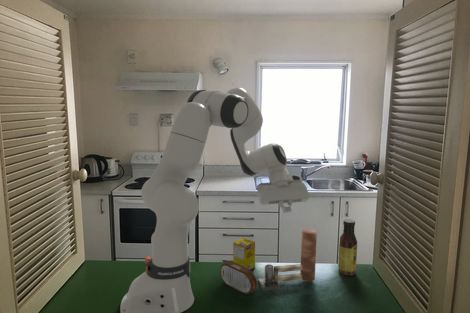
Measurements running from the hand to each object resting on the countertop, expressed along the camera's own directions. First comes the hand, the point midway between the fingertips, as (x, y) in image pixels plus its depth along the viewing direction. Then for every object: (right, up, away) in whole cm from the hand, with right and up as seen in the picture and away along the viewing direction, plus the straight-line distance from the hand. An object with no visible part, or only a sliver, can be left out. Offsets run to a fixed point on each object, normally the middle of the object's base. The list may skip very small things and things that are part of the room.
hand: (287, 212), depth 137 cm
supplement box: (-17, -21, -6) cm, 28 cm away
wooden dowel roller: (0, -21, -16) cm, 26 cm away
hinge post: (-9, -22, -17) cm, 30 cm away
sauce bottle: (+21, -21, -8) cm, 31 cm away
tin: (-20, -23, -19) cm, 36 cm away
